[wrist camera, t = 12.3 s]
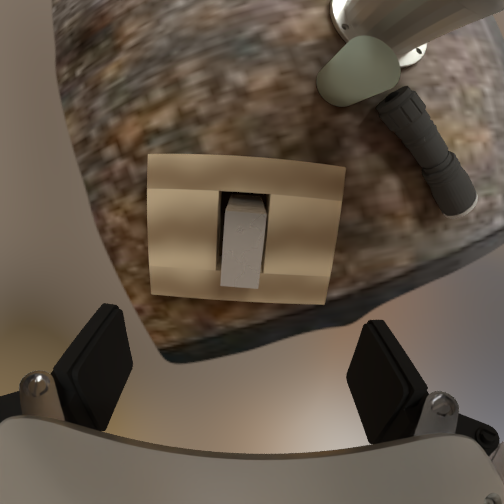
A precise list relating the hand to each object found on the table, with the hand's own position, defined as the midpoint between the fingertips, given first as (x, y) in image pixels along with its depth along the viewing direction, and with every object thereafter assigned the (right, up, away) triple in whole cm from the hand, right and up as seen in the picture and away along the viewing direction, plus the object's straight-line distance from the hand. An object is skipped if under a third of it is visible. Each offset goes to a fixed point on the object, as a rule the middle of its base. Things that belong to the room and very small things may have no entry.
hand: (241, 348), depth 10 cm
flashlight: (+20, +15, +18) cm, 31 cm away
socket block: (-1, +7, +20) cm, 21 cm away
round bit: (+10, +21, +15) cm, 28 cm away
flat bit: (0, +7, +20) cm, 21 cm away
